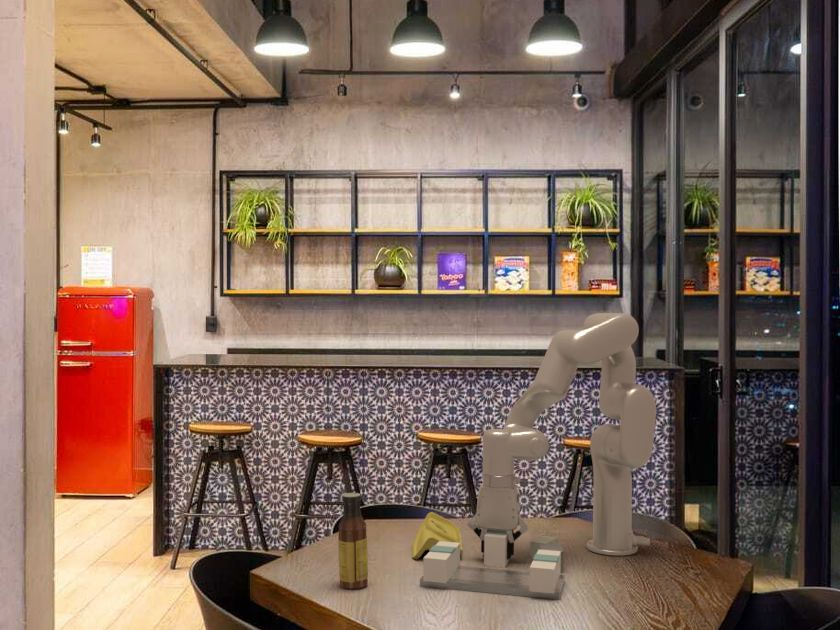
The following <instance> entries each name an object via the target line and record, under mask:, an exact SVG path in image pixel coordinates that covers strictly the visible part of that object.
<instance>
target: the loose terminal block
mask: <svg viewBox="0 0 840 630" xmlns="http://www.w3.org/2000/svg"><path fill="white" fill-rule="evenodd" d="M529 542H530V543H529V544H530V545H529V547H530V549H529V550H530V551H529V555H530V556H531V557H530V556H529V557H530V558H533V557H534V556H535V554H537V551H538V549H540V544H550V545H558V537H556V536H549V535H544V534H542V535H540V536H538V537H536V538H534V539H533V540H531V541H529Z"/></svg>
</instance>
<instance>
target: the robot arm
mask: <svg viewBox="0 0 840 630" xmlns="http://www.w3.org/2000/svg"><path fill="white" fill-rule="evenodd" d="M582 328H583V329H562V330H559V331H558V332H556V333H555V334H554V335H553V337H552V338H551V340H550V343H549V345H548V347H547V349H546V352H545V355H544V357H543V359H542V362H541V363H540V366H539V368H538V371H537V373H536V375H535V378H534V380H533V382H532V383H531V385H530V386H529V387H528V388H527V389H526V390H525V391H524V392H523V393H522V394H521V396H520V397H519V398H518V399H517V401H516V402H515V404H514V405H513V406H512V407H511V410H510V411H509V414H508V415H507V418H506V420H505V423H504V426H503V428H489V429H486V430H485V431H484V432H483V435H482V484H480V486H479V490H478V494H477V504H476V512H475V514H474V516H472V518H471V519H470V520H469V521H468V523H467V527H468V528H469V529H471V531H473V532H474V533H475V534H476V536H477V537H478V538H479V540H480V543H481V544H480V547H481V549H480V551H481V552H480V553H483V554H482V555H483V557H482V558H484V536H485V534H486V532H487V530H488V529H497V530H506V532H507V535H508V543H507V559H509V561H510V560H511V558H512V556H514V555H515V542H516V540H517V539H519V537H521V535H523V534H525V533H526V532H527V531H528V530H529V526H528V524H527V523H526V522H525V520H524V519H523V518H522V516H521V508H520V495H519V488H518V487H517V486H516V484H520V483H521V478H520V477H519V476H516V475H515V474H516V473H515V460H524V461H537V460H540V459H542V458H543V457H545V455H546V454H548V451H549V447H550V442H549V440H548V437H547V435H546V434H545V433H543V432H542V431H540V430H538V429H534V425H535V423H536V421H537V420H538V418H539V416H540V415H541V414H542V413H543V412H544V411H545V410H547V409H548V408H549V407H552V406H553V405H555V404H557V403H559V402H560V401H562V400H563V399H564V398H565V397H567V393H568V391H569V389H570V386H571V384H572V381H573V379H574V377H575V374H576V372H577V370H578V367H579V366H589V365H592V364H596V363H598V362H601V376H600V387H599V397H598V398H599V399H598V403H599V404H598V406H599V410H600V412H601V413H602V414H603V415H604V416H605V417H607V418H610V419H613V420H616V421H617V420H618V421H620V422H619V423H620V424H614V423H605V424H601V425H599V426H598V427H597V428H595V429H594V430H593V432H592V434H591V437H590V440H589V446H590V447H589V449H590V450H589V451H590V455H591V456H590V457H591V461H592V468H593V470H592V472H593V489H592V492H593V494H592V495H593V496H592V497H593V499H592V500H593V501H592V502H593V504H592V507H593V508H592V510H593V511H592V539H589V540H588V541H587V542H586V548H587V550H588V551H590V552H593V553H596V554H599V555H606V556H615V557H616V556H619V557H620V556H622V557H623V556H630V555H634V554H636V553H637V552H638V550H639V549H638V546H639V545H640V546H644V547H650V546H651V539H650V538H649V537H645V536H643V535H640V536H638V535H636V534H634V530H633V529H632V523H633V522H632V515H633V514H632V510H633V509H632V507H633V506H632V503H633V500H632V499H633V479H632V472H631V469H639V468H642V467H643V466H645V465H646V464H648V461H650V459H651V456H652V455H653V454H652V453H653V449H654V440H655V429H656V428H655V427H656V416H657V405H656V399H655V396H654V395H653V393H652V392H651V391H650V389H649V388H647V386H644V385H641V384H638V383H636V379H637V378H636V375H637V373H636V371H637V361H636V357H635V353H634V350H633V348H632V345H633V344H634V343H635V342H636V341H637V338H638V336H639V329H640V328H639V324H638V322H637V320H636V319H635V318H634V317H633V316H632V315H630V314H629V313H624V312H623V313H622V312H596V313H593V314H590V315H589V316H587V317H586V318H585V320H584V321H583V327H582ZM518 526H520V528H518ZM517 529H518V530H517ZM515 530H516V531H515Z"/></svg>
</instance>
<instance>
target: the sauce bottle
mask: <svg viewBox="0 0 840 630" xmlns="http://www.w3.org/2000/svg"><path fill="white" fill-rule="evenodd" d="M341 499H342V500H341V501H342V505H343V506H342V511H343V513H342V514H343V515H342V517H341V519H340V522H339V523H338V541H337V542H338V567H339V569H338V570H339V572H338V573H339V576H338V577H339V585H340V586H341V587H342V588H344V589H347V590H349V589H350V590H358V589H362V588H365V587H366V586H368V584H369V583H368V582H369V581H368V578H369V565H368V564H369V563H368V562H369V561H368V559H369V558H368V556H369V555H368V536H367V523H366V521H365V520H364V519H365V518H363V516H362V512H361V501H362V495H361V493H358V492H346V493H344V494H342V495H341Z"/></svg>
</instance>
